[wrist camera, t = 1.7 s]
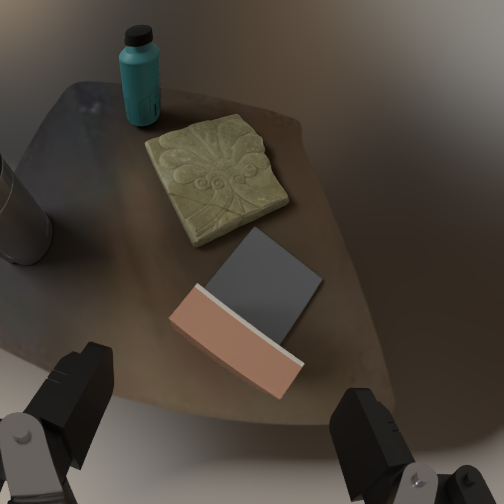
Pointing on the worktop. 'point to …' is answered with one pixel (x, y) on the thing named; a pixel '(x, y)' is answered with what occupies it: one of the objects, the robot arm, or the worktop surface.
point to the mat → (264, 285)
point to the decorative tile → (216, 176)
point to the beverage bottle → (140, 76)
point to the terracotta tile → (234, 343)
